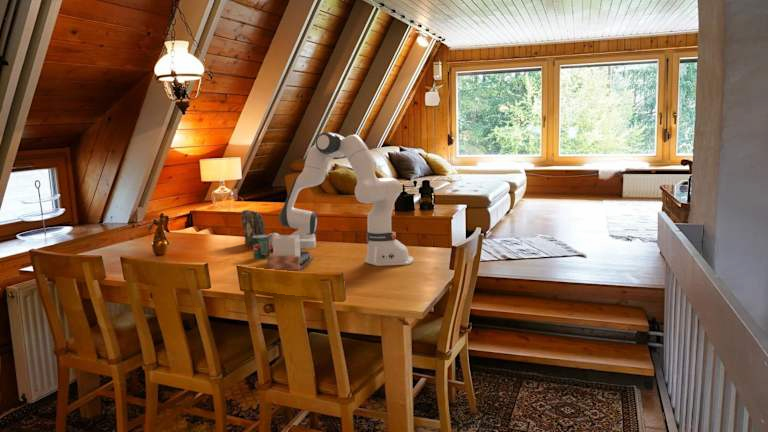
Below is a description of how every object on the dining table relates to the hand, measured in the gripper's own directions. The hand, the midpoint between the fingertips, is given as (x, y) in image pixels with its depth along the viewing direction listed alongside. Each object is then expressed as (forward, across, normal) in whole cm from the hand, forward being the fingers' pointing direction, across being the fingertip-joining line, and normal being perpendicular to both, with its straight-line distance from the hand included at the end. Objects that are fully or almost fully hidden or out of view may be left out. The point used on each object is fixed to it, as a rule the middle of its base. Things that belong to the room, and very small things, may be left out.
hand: (289, 246), depth 266 cm
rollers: (-3, 0, +8) cm, 8 cm away
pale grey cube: (+4, 0, +5) cm, 6 cm away
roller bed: (-1, 0, +10) cm, 10 cm away
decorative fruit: (-37, -20, +10) cm, 43 cm away
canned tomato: (-18, -20, +10) cm, 29 cm away
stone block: (-47, -35, +10) cm, 59 cm away
